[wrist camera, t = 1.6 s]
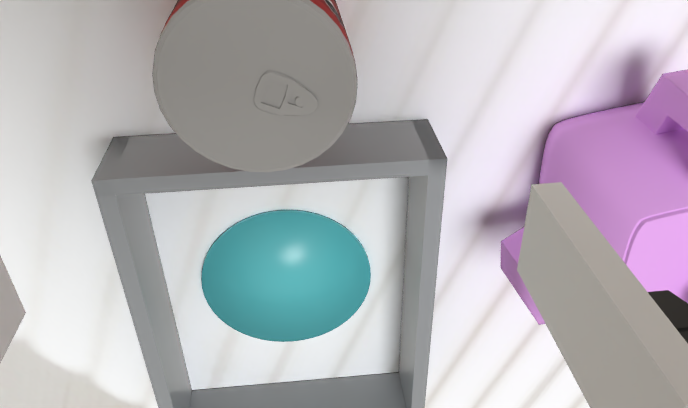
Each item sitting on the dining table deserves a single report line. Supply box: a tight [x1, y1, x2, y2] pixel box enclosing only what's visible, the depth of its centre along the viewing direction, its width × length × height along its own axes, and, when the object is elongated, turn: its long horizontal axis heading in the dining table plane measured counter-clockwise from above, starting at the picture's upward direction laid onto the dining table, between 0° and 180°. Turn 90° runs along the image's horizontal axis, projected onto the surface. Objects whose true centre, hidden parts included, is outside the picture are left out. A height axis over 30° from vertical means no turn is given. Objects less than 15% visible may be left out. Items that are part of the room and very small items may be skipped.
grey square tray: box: [92, 120, 447, 408], centre depth 40 cm, size 24×19×5 cm
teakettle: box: [501, 70, 688, 324], centre depth 36 cm, size 17×17×12 cm
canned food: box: [153, 0, 357, 172], centre depth 27 cm, size 8×8×11 cm
